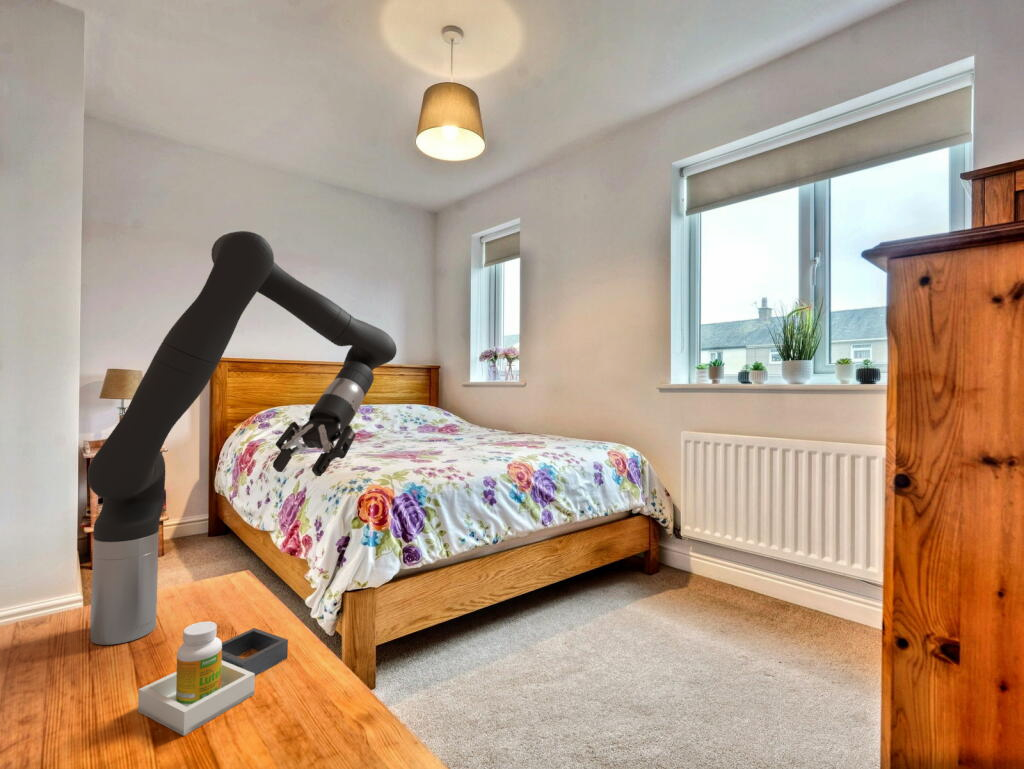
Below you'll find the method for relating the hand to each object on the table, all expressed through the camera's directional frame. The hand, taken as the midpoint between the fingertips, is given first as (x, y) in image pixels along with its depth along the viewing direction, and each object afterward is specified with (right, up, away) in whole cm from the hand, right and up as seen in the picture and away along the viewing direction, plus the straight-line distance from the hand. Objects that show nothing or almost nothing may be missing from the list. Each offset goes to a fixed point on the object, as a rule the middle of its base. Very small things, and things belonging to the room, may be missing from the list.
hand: (295, 471), depth 93 cm
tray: (-5, -29, -21) cm, 36 cm away
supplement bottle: (-5, -28, -21) cm, 35 cm away
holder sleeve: (-3, -29, -11) cm, 31 cm away
